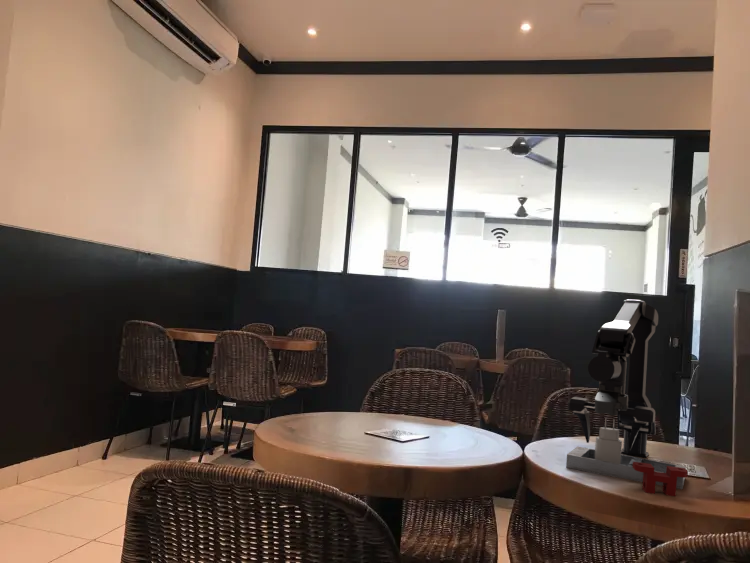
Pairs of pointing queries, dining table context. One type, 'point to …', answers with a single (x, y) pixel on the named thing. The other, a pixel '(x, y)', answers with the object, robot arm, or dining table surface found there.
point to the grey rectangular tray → (615, 466)
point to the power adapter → (608, 445)
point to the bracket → (660, 477)
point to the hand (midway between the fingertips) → (608, 446)
